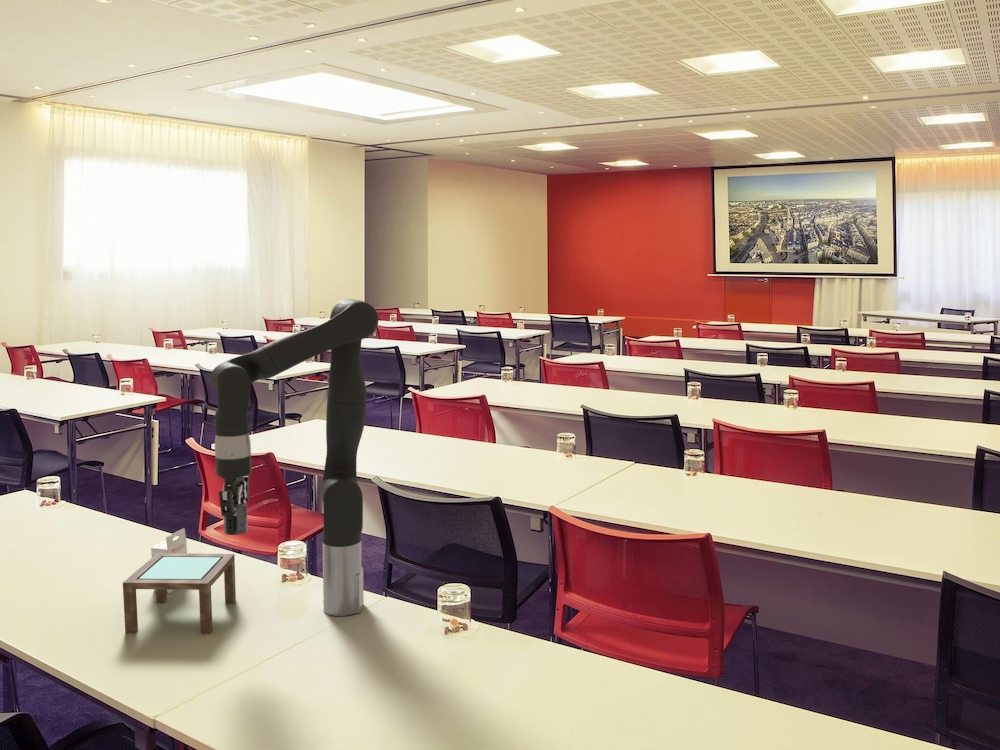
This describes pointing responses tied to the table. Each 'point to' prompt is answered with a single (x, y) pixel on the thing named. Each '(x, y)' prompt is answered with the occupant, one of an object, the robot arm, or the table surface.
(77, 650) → the table surface
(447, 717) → the table surface
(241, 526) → the cylinder
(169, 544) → the ink cartridge box
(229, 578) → the miniature wooden table
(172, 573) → the trapdoor
